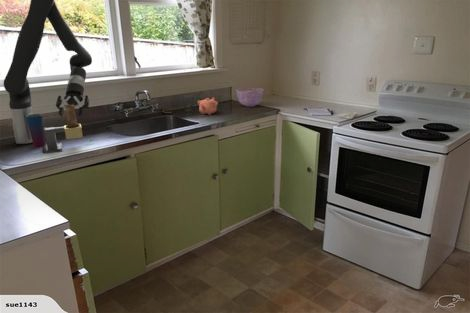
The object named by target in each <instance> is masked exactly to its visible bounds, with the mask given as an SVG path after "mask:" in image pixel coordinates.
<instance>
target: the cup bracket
mask: <svg viewBox="0 0 470 313" xmlns="http://www.w3.org/2000/svg"><path fill="white" fill-rule="evenodd" d="M77 126H78V127H74V128H68V124H67V125H63V126H56V127H54V126H51V127H44V137H45V145H43V147H42V154H49V153H50V154H51V153H59V152H63V143H62V142H61V143H60V142H59V143H58V142H57V136H56V133H58V134H59V133H64V134H65V140H72V139H74V140H75V139H81V138H83V137H84V136H83V129H82V124H81V123H77Z"/></svg>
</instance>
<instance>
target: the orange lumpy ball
mask: <svg viewBox="0 0 470 313" xmlns="http://www.w3.org/2000/svg"><path fill="white" fill-rule="evenodd" d="M197 104H198V107H199V108H198V109H199V110H198V111H199V113H200V114H201V115H206V114H207V115H208V116H212V114H215V112H216V111H217V107H218V105H219V102H218V101H216V99H215V96H214V97H212V98H211V99H210V98H209V97H206V98H205V99H202V100H198V101H197Z"/></svg>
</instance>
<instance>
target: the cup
mask: <svg viewBox="0 0 470 313" xmlns="http://www.w3.org/2000/svg"><path fill="white" fill-rule="evenodd" d="M26 118H27V122H28V126H29V130H30V134H31V138H32V145H33V147H34V148H41V147H42V148H43V145H46V137H45V131H44V129H45V127H44V119H43V114H42V113H33V114H30V115H27V116H26Z"/></svg>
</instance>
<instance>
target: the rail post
mask: <svg viewBox="0 0 470 313" xmlns="http://www.w3.org/2000/svg"><path fill="white" fill-rule="evenodd" d="M64 110H65V115H66V116H65V117H66V120H67V121H66V122H67V125H68V128H74V127H78V126H77V124H78V121H77V120H78V119H77V113H76V106H74V104H68V105H65V109H64Z"/></svg>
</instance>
